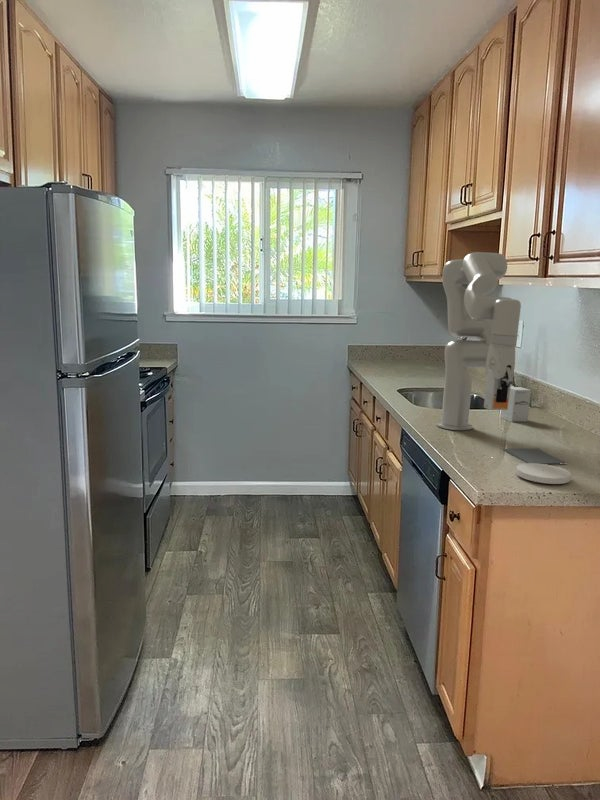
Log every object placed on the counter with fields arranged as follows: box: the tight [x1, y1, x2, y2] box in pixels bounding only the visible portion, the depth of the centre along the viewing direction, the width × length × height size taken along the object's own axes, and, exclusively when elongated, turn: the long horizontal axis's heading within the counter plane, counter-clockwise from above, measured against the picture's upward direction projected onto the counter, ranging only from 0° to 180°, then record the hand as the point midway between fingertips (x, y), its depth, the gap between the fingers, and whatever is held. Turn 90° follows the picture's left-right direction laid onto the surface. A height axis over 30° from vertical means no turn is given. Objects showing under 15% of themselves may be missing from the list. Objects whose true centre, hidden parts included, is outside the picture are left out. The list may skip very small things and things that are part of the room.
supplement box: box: [500, 386, 532, 423], centre depth 249 cm, size 7×7×13 cm
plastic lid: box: [515, 462, 572, 485], centre depth 175 cm, size 14×14×2 cm
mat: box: [502, 447, 567, 465], centre depth 196 cm, size 16×12×1 cm
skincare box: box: [483, 370, 512, 411], centre depth 194 cm, size 6×4×12 cm
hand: (497, 399), depth 195 cm, fingers closed on skincare box, 4 cm apart
